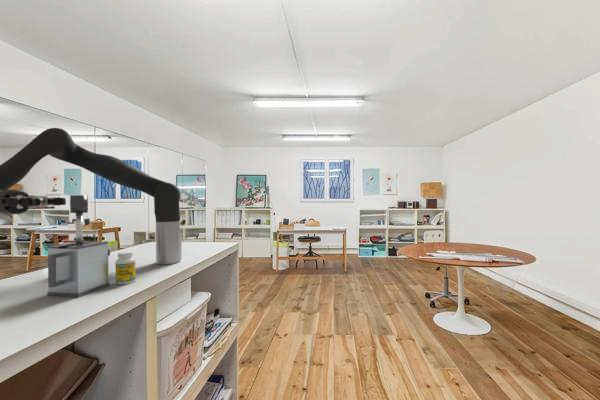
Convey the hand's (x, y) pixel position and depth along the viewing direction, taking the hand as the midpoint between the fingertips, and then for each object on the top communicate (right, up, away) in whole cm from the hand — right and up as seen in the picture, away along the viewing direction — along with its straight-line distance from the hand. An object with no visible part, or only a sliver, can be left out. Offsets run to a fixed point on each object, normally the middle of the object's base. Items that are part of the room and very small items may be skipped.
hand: (50, 201), depth 81 cm
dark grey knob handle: (+10, -16, -2) cm, 19 cm away
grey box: (+10, -26, -3) cm, 28 cm away
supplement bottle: (+19, -26, +6) cm, 33 cm away
